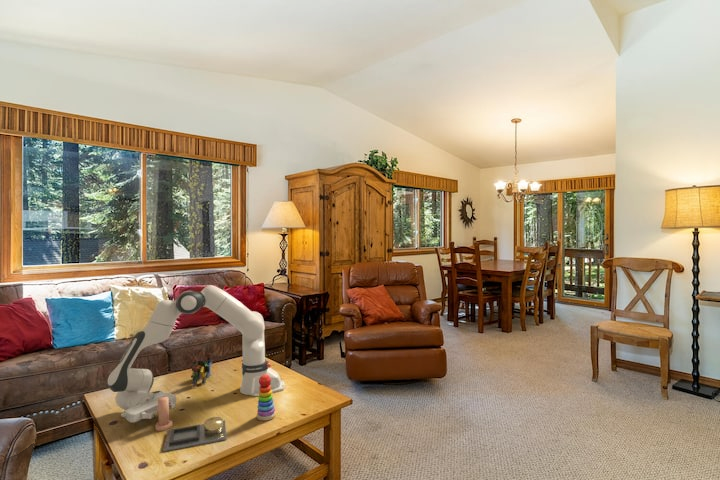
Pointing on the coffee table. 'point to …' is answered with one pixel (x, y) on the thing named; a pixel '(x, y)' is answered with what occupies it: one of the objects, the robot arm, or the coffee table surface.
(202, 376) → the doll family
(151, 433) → the coffee table surface
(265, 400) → the stacking toy
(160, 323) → the robot arm
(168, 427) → the pink peg on base
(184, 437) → the carrier plate
